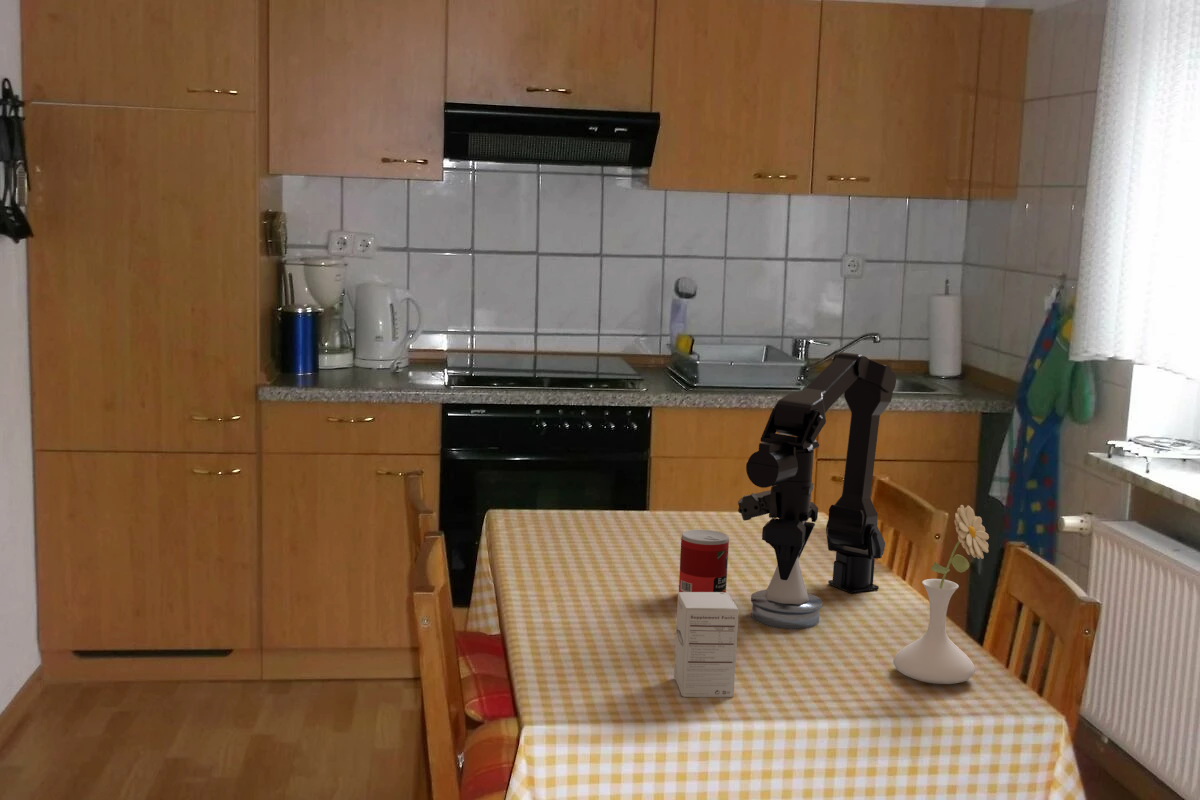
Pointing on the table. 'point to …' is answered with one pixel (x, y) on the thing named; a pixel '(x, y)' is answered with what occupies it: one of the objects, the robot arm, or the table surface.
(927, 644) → the flower in vase
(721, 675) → the supplement box
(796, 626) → the biscuit tin
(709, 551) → the canned food
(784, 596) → the flask
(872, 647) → the table surface
